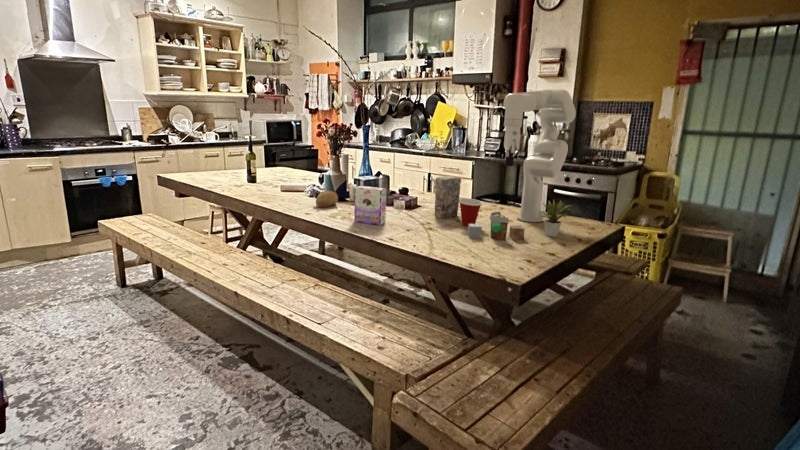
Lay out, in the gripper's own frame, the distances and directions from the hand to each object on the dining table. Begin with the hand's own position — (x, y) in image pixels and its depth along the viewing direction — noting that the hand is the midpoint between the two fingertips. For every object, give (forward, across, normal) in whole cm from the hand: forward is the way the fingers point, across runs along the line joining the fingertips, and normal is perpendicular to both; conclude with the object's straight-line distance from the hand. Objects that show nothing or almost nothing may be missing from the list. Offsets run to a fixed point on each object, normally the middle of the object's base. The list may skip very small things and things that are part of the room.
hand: (508, 165), depth 202 cm
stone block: (+29, +22, +24) cm, 44 cm away
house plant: (+29, -8, -20) cm, 36 cm away
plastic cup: (+29, +4, +15) cm, 33 cm away
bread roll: (+30, +36, +86) cm, 98 cm away
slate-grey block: (+29, -14, +15) cm, 36 cm away
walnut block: (+29, -14, -3) cm, 33 cm away
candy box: (+29, +3, +61) cm, 68 cm away
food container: (+29, -14, +6) cm, 33 cm away
